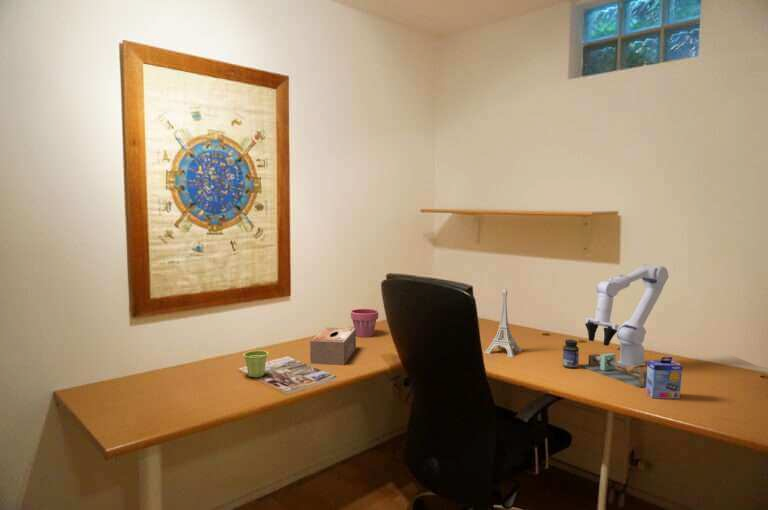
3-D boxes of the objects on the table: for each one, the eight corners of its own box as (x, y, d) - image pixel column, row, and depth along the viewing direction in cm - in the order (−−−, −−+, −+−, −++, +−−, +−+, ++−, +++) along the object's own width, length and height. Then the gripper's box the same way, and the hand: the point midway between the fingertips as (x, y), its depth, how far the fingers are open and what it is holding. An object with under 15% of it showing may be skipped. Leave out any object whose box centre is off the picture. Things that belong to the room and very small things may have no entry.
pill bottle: (579, 369, 209) (580, 343, 208) (563, 368, 210) (564, 342, 209) (576, 365, 215) (577, 339, 214) (561, 364, 216) (562, 338, 215)
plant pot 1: (246, 380, 194) (246, 358, 193) (241, 373, 202) (241, 352, 201) (271, 377, 198) (270, 355, 197) (265, 370, 206) (264, 349, 206)
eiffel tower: (512, 357, 226) (514, 290, 223) (484, 353, 233) (485, 288, 230) (521, 350, 237) (523, 286, 235) (494, 346, 244) (495, 284, 242)
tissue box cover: (343, 365, 214) (343, 342, 213) (310, 364, 216) (310, 340, 215) (355, 349, 239) (355, 328, 238) (325, 348, 241) (325, 327, 240)
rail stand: (581, 366, 213) (581, 354, 212) (598, 363, 217) (599, 351, 216) (640, 387, 187) (640, 373, 187) (658, 384, 192) (659, 370, 191)
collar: (600, 369, 206) (600, 354, 206) (610, 367, 209) (611, 353, 208) (604, 370, 204) (604, 356, 204) (614, 368, 207) (615, 354, 206)
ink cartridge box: (652, 398, 177) (654, 357, 175) (644, 393, 182) (646, 353, 181) (681, 399, 176) (683, 358, 175) (672, 393, 182) (674, 353, 181)
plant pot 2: (382, 333, 269) (382, 309, 268) (371, 339, 256) (371, 314, 255) (358, 331, 274) (358, 307, 273) (346, 336, 262) (345, 312, 261)
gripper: (583, 306, 214) (577, 338, 214) (611, 313, 201) (606, 347, 201) (595, 307, 217) (589, 339, 217) (623, 314, 204) (618, 347, 204)
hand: (598, 343), depth 209 cm, fingers open, 7 cm apart
